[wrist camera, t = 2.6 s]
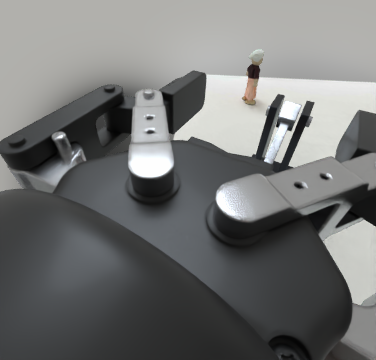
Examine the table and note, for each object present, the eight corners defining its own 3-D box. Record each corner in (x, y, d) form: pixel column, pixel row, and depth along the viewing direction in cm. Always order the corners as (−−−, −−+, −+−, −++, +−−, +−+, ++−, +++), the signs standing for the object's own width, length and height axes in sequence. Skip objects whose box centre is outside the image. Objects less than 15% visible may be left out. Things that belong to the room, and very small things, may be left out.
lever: (280, 193, 30) (283, 186, 28) (239, 177, 32) (239, 170, 30) (309, 119, 33) (315, 108, 31) (270, 109, 35) (273, 97, 33)
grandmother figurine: (261, 105, 63) (274, 53, 54) (248, 107, 62) (260, 54, 53) (247, 93, 68) (258, 44, 59) (235, 94, 67) (244, 45, 58)
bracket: (280, 209, 37) (319, 130, 27) (233, 191, 40) (252, 112, 30) (293, 173, 44) (328, 97, 33) (251, 159, 46) (272, 84, 36)
